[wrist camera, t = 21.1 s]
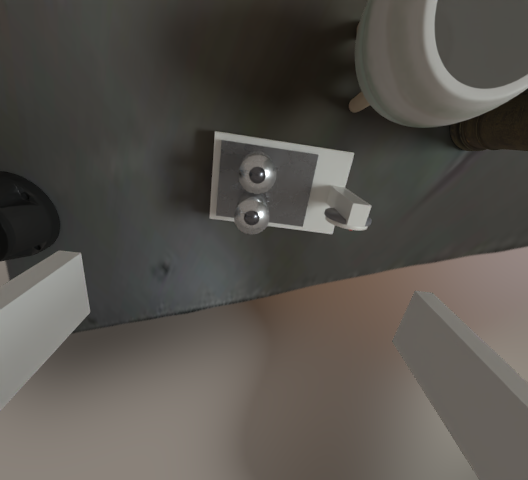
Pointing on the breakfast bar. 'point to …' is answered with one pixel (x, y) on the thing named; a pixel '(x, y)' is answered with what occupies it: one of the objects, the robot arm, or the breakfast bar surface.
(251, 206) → the spacer
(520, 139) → the container
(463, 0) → the planter
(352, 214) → the scale
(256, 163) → the spacer
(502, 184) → the breakfast bar surface
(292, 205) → the pan
